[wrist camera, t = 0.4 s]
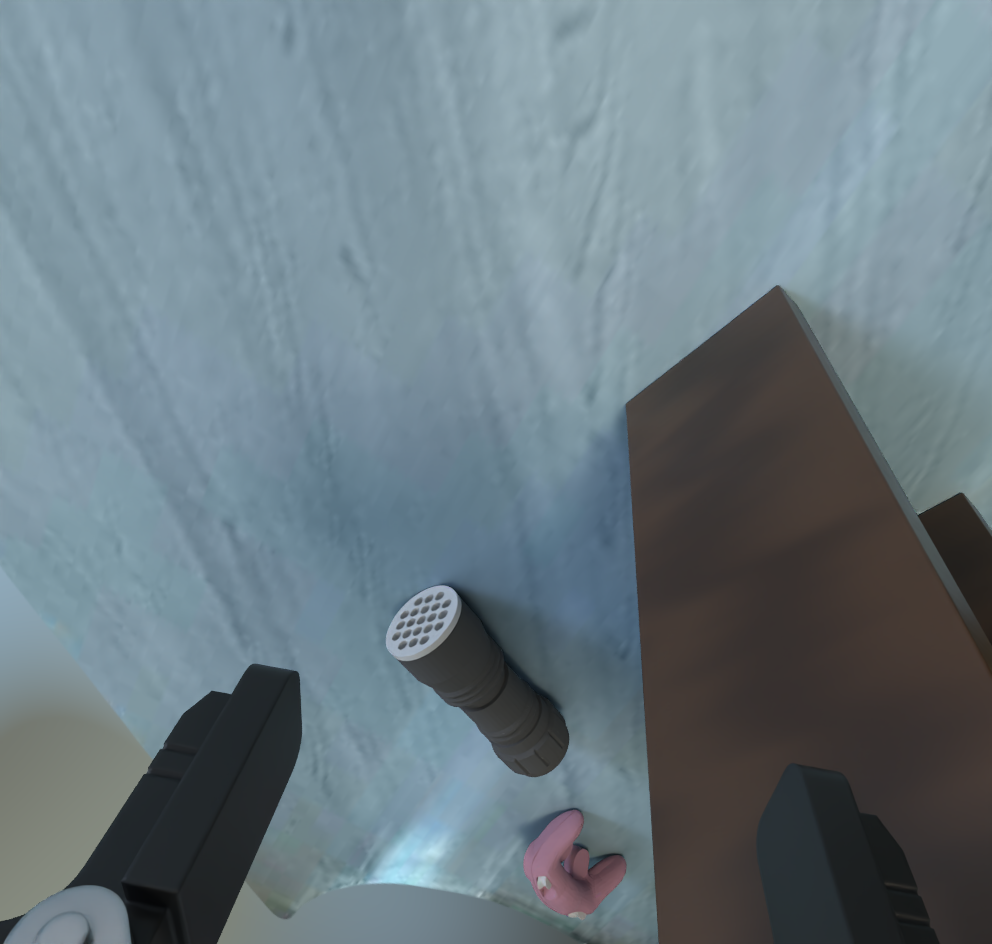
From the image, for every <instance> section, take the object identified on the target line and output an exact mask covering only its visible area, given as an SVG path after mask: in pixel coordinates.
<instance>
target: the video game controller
mask: <svg viewBox="0 0 992 944" xmlns="http://www.w3.org/2000/svg"><path fill="white" fill-rule="evenodd" d="M583 823H584V818H583V815H582V813H581V812H579V811H578V810H570V811H567V812H564V813H562V814H561V815H559V816H558V817H556V818H555V819H554V820H552V821H551V822H550V823H549V824H548V825H547V827H546V828H545V829H544V830H543V831H542V833H541V834H540V835H539V837H538V838H537V839H535V840H534V841H533V842H531V844H530V845H529V847H528V849H527V851H526V853H525V857H524V872H525V875H526V877H527V878H528V879H529V880H530V881H531V883H532V886H533V889H534V890H535V892H536V894H537V896H538V897H539V898H540V900H541V901H542V902H543V903H544V904H545V905H546V906H548V907H549V908H550V909H552V910H554V911H556V912H558V913H560V914H562V915H566V916H569V917H579V918H580V919H581V920H584V919H585V917H586V915H587V914H591V913H592V912H593V911H594V910H595V909H596V908H597V907H598V905H599V904H600V903H601V902H602V900H603V899H604V898H605V897H606V896H607V895H608V894H609V893H610V892H611V891H612V890H613V889H614V888H615V887H616V886H617V885H618V884H619V883H620V882H621V881H622V879H623V877H624V875H625V873H626V861H625V859H624V858H623V857H622V856H620V855H613V856H609V857H607V858H605V859H603V860H601V861H600V862H598V863H597V864H595V865H594V866H593V867H591V868H590V869H589V870H588V865H589V853H588V851H587V850H585V849H583V848H581V847H578V846H576V845H573V842H574V841H575V839H576V838H577V837H578V836H579V834H580V832H581V830H582V828H583ZM564 860H565V861H564ZM562 861H564V867H563V866H562V865H561V862H562Z"/></svg>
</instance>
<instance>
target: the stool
mask: <svg viewBox="0 0 992 944" xmlns="http://www.w3.org/2000/svg"><path fill="white" fill-rule="evenodd" d="M626 415H627V432H628V448H629V464H630V481H631V497H632V513H633V530H634V546H635V562H636V579H637V595H638V611H639V628H640V644H641V660H642V677H643V693H644V709H645V726H646V742H647V758H648V774H649V791H650V807H651V823H652V840H653V856H654V872H655V889H656V905H657V921H658V938H659V944H774V939H773V934H772V930H771V925H770V920H769V915H768V910H767V905H766V900H765V895H764V890H763V885H762V880H761V875H760V870H759V865H758V859H757V849H756V839H757V829H758V824H759V821H760V818H761V816H762V814H763V812H764V810H765V808H766V806H767V804H768V802H769V800H770V798H771V796H772V794H773V792H774V790H775V788H776V786H777V784H778V782H779V780H780V778H781V776H782V774H783V772H784V770H785V769H786V767H787V766H788V765H789V764H791V763H795V764H800V765H806V766H811V767H817V768H822V769H828V770H833V771H838V772H841V773H842V774H844V776H845V777H846V778H847V780H848V782H849V784H850V787H851V790H852V793H853V795H854V798H855V801H856V804H857V807H858V810H859V812H861V813H866V814H871V815H877V817H878V818H879V819H880V821H881V822H882V823H883V824H884V826H885V827H886V828H887V830H888V831H889V832H890V834H891V835H892V836H893V838H894V839H895V840H896V842H897V843H898V844H899V846H900V847H901V848H902V850H903V851H904V854H905V856H906V859H907V862H908V864H909V867H910V869H911V872H912V874H913V877H914V879H915V882H916V885H917V887H918V890H917V892H918V895H919V896H921V897H922V900H923V902H924V905H925V908H926V910H927V913H928V915H929V918H930V927H931V928H934V931H935V933H936V936H937V938H938V941H939V943H940V944H992V530H991V529H990V527H989V526H988V524H987V523H986V521H985V520H984V519H983V517H982V516H981V514H980V513H979V511H978V510H977V509H976V507H975V506H974V505H973V504H972V503H971V502H970V501H969V500H968V498H967V497H966V496H965V495H964V494H963V493H960V494H958V495H956V496H954V497H953V498H951V499H949V500H947V501H945V502H943V503H941V504H939V505H937V506H936V507H934V508H932V509H930V510H928V511H926V512H924V513H922V514H921V515H919V516H917V514H916V512H915V510H914V509H913V507H912V505H911V503H910V502H909V500H908V498H907V496H906V495H905V493H904V491H903V489H902V488H901V486H900V484H899V482H898V481H897V479H896V477H895V475H894V474H893V472H892V470H891V468H890V467H889V465H888V463H887V461H886V460H885V458H884V456H883V454H882V453H881V451H880V449H879V447H878V446H877V444H876V442H875V440H874V439H873V437H872V435H871V433H870V432H869V430H868V428H867V426H866V425H865V423H864V421H863V419H862V417H861V416H860V414H859V412H858V410H857V409H856V407H855V405H854V403H853V402H852V400H851V398H850V396H849V395H848V393H847V391H846V389H845V388H844V386H843V384H842V382H841V381H840V379H839V377H838V375H837V374H836V372H835V370H834V368H833V367H832V365H831V363H830V361H829V360H828V358H827V356H826V354H825V353H824V351H823V349H822V347H821V346H820V344H819V342H818V340H817V339H816V337H815V335H814V333H813V332H812V330H811V328H810V326H809V325H808V323H807V321H806V319H805V318H804V316H803V314H802V312H801V311H800V309H799V307H798V306H797V305H796V304H795V303H794V301H793V300H792V299H791V298H790V297H789V296H788V295H787V294H786V292H785V291H784V290H783V289H782V288H781V287H780V286H779V285H778V286H776V287H775V288H773V289H772V290H771V291H770V292H768V293H767V294H766V295H765V296H763V297H762V298H761V299H759V300H758V301H757V302H756V303H754V304H753V305H752V306H750V307H749V308H748V309H747V310H745V311H744V312H743V313H742V314H740V315H739V316H738V317H736V318H735V319H734V320H733V321H731V322H730V323H729V324H728V325H726V326H725V327H724V328H722V329H721V330H720V331H719V332H717V333H716V334H715V335H713V336H712V337H711V338H710V339H708V340H707V341H706V342H705V343H703V344H702V345H701V346H699V347H698V348H697V349H696V350H694V351H693V352H692V353H691V354H689V355H688V356H687V357H685V358H684V359H683V360H682V361H680V362H679V363H678V364H676V365H675V366H674V367H673V368H671V369H670V370H669V371H668V372H666V373H665V374H664V375H662V376H661V377H660V378H659V379H657V380H656V381H655V382H654V383H652V384H651V385H650V386H648V387H647V388H646V389H645V390H643V391H642V392H641V393H639V394H638V395H637V396H636V397H634V398H633V399H632V400H631V401H629V402H628V403H627V404H626Z"/></svg>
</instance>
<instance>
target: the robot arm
mask: <svg viewBox="0 0 992 944" xmlns="http://www.w3.org/2000/svg"><path fill="white" fill-rule="evenodd" d="M301 738H302V718H301V696H300V677H299V673H298V672H297V671H293V670H287V669H282V668H276V667H271V666H265V665H260V664H252V665H250V666H249V667H248V668H247V670H246V671H245V673H244V674H243V676H242V678H241V679H240V681H239V683H238V684H237V686H236V688H235V689H234V691H233V693H232V694H227V693H221V692H216V691H211V692H210V693H209V694H207V695H206V696H205V697H204V698H202V699H201V700H200V701H199V702H197V703H196V704H195V705H194V706H192V707H191V708H190V709H189V710H187V711H186V712H185V713H184V714H183V715H182V716H181V718H180V720H179V721H178V723H177V724H176V726H175V727H174V729H173V730H172V732H171V733H170V735H169V736H168V738H167V740H166V741H165V743H164V747H163V749H160V750H159V752H158V753H157V755H156V756H155V758H154V760H153V761H152V763H151V764H150V766H149V767H148V772H147V774H144V775H143V777H142V778H141V780H140V781H139V783H138V785H137V786H136V787H135V789H134V790H133V792H132V793H131V795H130V797H129V798H128V800H127V801H126V803H125V804H124V806H123V807H122V809H121V810H120V812H119V814H118V815H117V817H116V818H115V820H114V821H113V823H112V824H111V826H110V827H109V829H108V830H107V832H106V833H105V835H104V837H103V838H102V840H101V841H100V843H99V844H98V846H97V847H96V849H95V851H94V852H93V853H92V855H91V857H90V858H89V860H88V861H87V863H86V864H85V866H84V867H83V868H82V870H81V871H80V873H79V874H78V875H77V877H76V878H75V879H74V880H73V881H72V882H71V883H70V884H69V885H68V886H67V887H66V888H65V889H64V890H62V891H60V892H58V893H56V894H54V895H51V896H50V897H48V898H47V899H45V900H43V901H41V902H40V903H38V904H37V905H36V906H35V907H33V908H32V909H31V910H29V911H28V912H27V913H26V914H24V915H21V916H18V917H15V918H13V919H9V920H5V921H0V944H217V942H218V939H219V937H220V935H221V933H222V930H223V928H224V926H225V924H226V922H227V919H228V917H229V915H230V912H231V910H232V908H233V905H234V903H235V901H236V899H237V896H238V894H239V892H240V890H241V887H242V885H243V883H244V881H245V878H246V876H247V874H248V871H249V869H250V867H251V865H252V862H253V860H254V858H255V856H256V853H257V851H258V849H259V846H260V844H261V842H262V840H263V837H264V835H265V833H266V831H267V828H268V826H269V824H270V821H271V819H272V817H273V815H274V812H275V810H276V808H277V806H278V803H279V801H280V799H281V796H282V794H283V792H284V790H285V787H286V785H287V783H288V780H289V778H290V776H291V774H292V771H293V769H294V766H295V763H296V760H297V757H298V753H299V749H300V744H301ZM756 849H757V859H758V865H759V870H760V875H761V880H762V885H763V890H764V895H765V900H766V905H767V910H768V915H769V920H770V925H771V930H772V934H773V939H774V944H940V943H939V941H938V938H937V936H936V933H935V931H934V928H931V927H930V918H929V915H928V913H927V910H926V908H925V905H924V902H923V900H922V897H921V896H919V895H918V892H917V890H918V887H917V885H916V882H915V879H914V877H913V874H912V872H911V869H910V867H909V864H908V862H907V859H906V856H905V854H904V851H903V850H902V848H901V847H900V846H899V844H898V843H897V842H896V840H895V839H894V838H893V836H892V835H891V834H890V832H889V831H888V830H887V828H886V827H885V826H884V824H883V823H882V822H881V821H880V819H879V818H878V817H877V815H871V814H866V813H861V812H859V810H858V807H857V804H856V801H855V798H854V795H853V793H852V790H851V787H850V784H849V782H848V780H847V778H846V777H845V776H844V774H842V773H841V772H838V771H833V770H828V769H822V768H817V767H811V766H806V765H800V764H795V763H791V764H789V765H788V766H787V767H786V769H785V770H784V772H783V774H782V776H781V778H780V780H779V782H778V784H777V786H776V788H775V790H774V792H773V794H772V796H771V798H770V800H769V802H768V804H767V806H766V808H765V810H764V812H763V814H762V816H761V818H760V821H759V824H758V829H757V839H756Z"/></svg>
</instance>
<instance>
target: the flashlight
mask: <svg viewBox="0 0 992 944" xmlns="http://www.w3.org/2000/svg"><path fill="white" fill-rule="evenodd" d="M386 646H387V649H388V651H389V652H390V653H391V654H392V655H393V656H394V657H395V658H396V659H397V660H398V661H399V662H400V663H401V664H402V665H403V666H404V667H405V668H406V669H407V670H408V671H409V672H410V673H411V674H412V675H413V676H414V677H415V678H416V679H417V680H418V681H420V682H422V683H424V684H426V685H428V686H430V687H432V688H433V689H434V691H435V692H436V693H437V694H438V695H439V696H440V697H441V698H442V699H443V700H444V701H445V702H446V703H447V704H449V705H451V706H454V707H460V708H461V709H462V710H463V711H464V712H465V713H466V714H467V715H468V716H469V717H470V718H471V719H472V720H473V721H474V722H475V723H476V724H477V727H478V728H479V730H480V732H481V733H482V734H484V736H485V737H486V738H487V739H488V740H489V741H490V742H491V743H492V747H493V750H494V752H495V754H496V755H497V756H498V757H499V758H500V759H501V760H502V761H503V762H504V763H505V764H506V765H507V766H508V767H509V768H510V769H511V770H512V771H514V772H515V773H518V774H522V775H526V776H529V777H539V776H542V775H545V774H547V773H549V772H550V771H552V770H553V769H554V768H555V767H557V766H558V764H559V763H560V762H561V761H562V759H563V758H564V756H565V754H566V752H567V749H568V745H569V733H568V729H567V727H566V723H565V720H564V718H563V716H562V715H561V713H560V712H559V711H558V710H557V709H556V708H555V707H554V706H553V704H552V703H551V702H550V701H549V700H548V699H547V698H544V697H543V696H541V695H538V694H537V693H536V692H535V691H533V689H532V688H531V687H530V686H529V685H528V684H527V683H526V682H525V681H524V680H522V679H520V678H519V677H518V676H517V675H516V674H515V672H514V671H513V670H512V669H511V668H510V667H509V666H508V665H507V664H506V662H505V661H504V656H503V652H502V650H501V648H500V647H499V646H498V645H497V644H496V642H495V641H494V640H493V639H492V638H491V637H490V636H489V635H488V634H486V632H485V629H484V627H483V625H482V623H481V621H480V619H479V618H478V617H477V616H476V615H475V613H474V612H473V611H472V610H471V609H470V608H469V607H468V606H467V604H466V603H465V602H464V601H463V600H462V599H461V598H460V596H459V595H458V594H457V593H456V592H455V591H454V590H453V589H452V588H451V587H448V586H444V585H441V586H434V587H431V588H428V589H426V590H424V591H422V592H420V593H418V594H417V595H415V596H414V597H413V598H411V599H410V600H409V601H408V602H407V603H406V604H405V605H404V606H403V607H402V608H401V609H400V610H399V612H398V613H397V614H396V616H395V617H394V619H393V621H392V622H391V624H390V627H389V629H388V632H387V636H386Z"/></svg>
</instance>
